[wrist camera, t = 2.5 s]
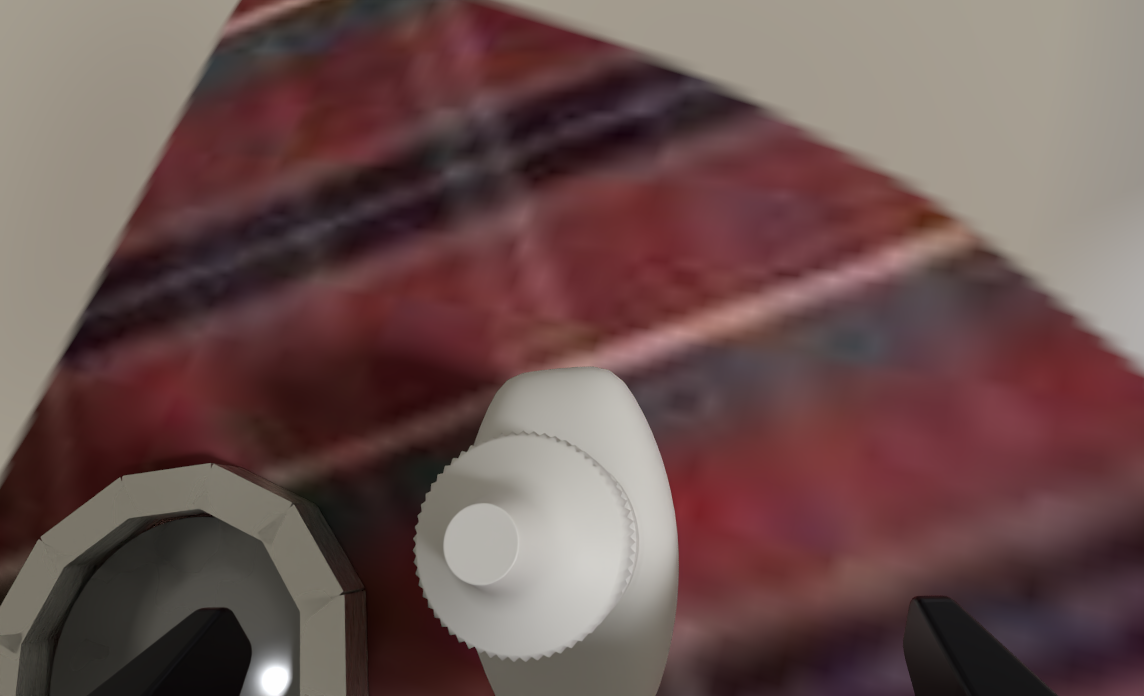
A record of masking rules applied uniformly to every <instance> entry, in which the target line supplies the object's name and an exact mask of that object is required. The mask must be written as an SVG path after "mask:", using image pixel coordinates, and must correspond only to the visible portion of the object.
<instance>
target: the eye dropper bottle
mask: <svg viewBox="0 0 1144 696" xmlns="http://www.w3.org/2000/svg"><path fill="white" fill-rule="evenodd" d="M421 509H422V512H421V513H420V514H418V515H417V517H418V520H419V523H418V524H417V525H416V526H415V529H416V532H417V534H416V535H415V537H414V538H413V539H414V541H415V543H416V546H415V547H414V549H413V552H414V553H415V555H416V558H415V560H414V564H415V565H416V566H417V571H416V575H417V576H418V577H419V578H420V581H419V586H420V587H421V588H423V597H424V598H426V599H428V608H431V609H434V617H435V618H440V621H441V626H442V627H448V630H449V634H450V635H454V634H456V636H457V639H458V641H459V642H463V641H465V642H466V644H467V646H468V648H469V649H470V648H472V647H474V646H475V648H476V649H477V652H478V655H479V657H480V660H481V662H482V665H483V668H484V671H485V673H486V676H487V678H488V680H489V682H490V685H491V687H492V689H493V691H494V694H495V695H496V696H655V695H656V693H657V690H658V688H659V685H660V682H661V679H662V675H663V672H664V669H665V665H666V662H667V657H668V653H669V649H670V644H671V640H672V634H673V628H674V622H675V615H676V606H677V596H678V576H679V556H678V537H677V527H676V519H675V512H674V506H673V501H672V496H671V491H670V487H669V483H668V479H667V475H666V471H665V468H664V465H663V461H662V458H661V455H660V452H659V449H658V447H657V444H656V441H655V439H654V436H653V434H652V431H651V429H650V427H649V425H648V423H647V420H646V418H645V416H644V414H643V412H642V410H641V409H640V407H639V405H638V403H637V401H636V399H635V398H634V396H633V395H632V393H631V392H630V390H629V389H628V387H627V386H626V384H625V383H624V382H623V381H622V380H621V379H619V378H618V377H617V376H616V375H615V374H613V373H612V372H611V371H610V370H606V369H602V368H597V367H571V368H559V369H549V370H540V371H534V372H527V373H522V374H520V375H518V376H515V377H513V378H511V379H508V380H507V381H506V382H505V383H504V385H503V386H502V387H501V388H500V389H499V390H498V391H497V392H496V394H495V396H494V398H493V400H492V402H491V404H490V405H489V407H488V409H487V412H486V414H485V417H484V419H483V421H482V424H481V426H480V429H479V432H478V434H477V437H476V440H475V443H474V446H473V445H471V446H470V447H469V449H468V451H467V452H464V451H461V453H460V456H459V458H453V459H452V462H451V465H448V466H445V467H444V472H443V473H442V474H438V475H437V482H435V483H432V484H431V491H430V492H428V493H426V501H425V502H424V503H422V504H421Z"/></svg>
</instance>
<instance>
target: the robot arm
mask: <svg viewBox="0 0 1144 696" xmlns="http://www.w3.org/2000/svg"><path fill="white" fill-rule="evenodd" d="M903 648H904V655H905V659H906V663H907V667H908V671H909V674H910V678H911V682H912V685H913V689H914V693H915V696H1058V695H1057V694H1056V693H1055V692H1054V691H1052V690H1051V689H1050V688H1049V687H1048V686H1047V685H1046V684H1045V683H1044V682H1043V681H1042V680H1040V679H1039V678H1038V677H1037V676H1036V675H1035V674H1034V673H1033V672H1032V671H1031V670H1030V669H1029V668H1027V667H1026V666H1025V665H1024V664H1023V663H1022V662H1021V661H1020V660H1019V659H1018V658H1017V657H1015V656H1014V655H1013V654H1012V653H1011V652H1010V651H1009V650H1008V649H1007V648H1006V647H1005V646H1004V645H1002V644H1001V643H1000V642H999V641H998V640H997V639H996V638H995V637H994V636H993V635H992V634H990V633H989V632H988V631H987V630H986V629H985V628H984V627H983V626H982V625H981V624H980V623H979V622H977V621H976V620H975V619H974V618H973V617H972V616H971V615H970V614H969V613H968V612H967V611H965V610H964V609H963V608H962V607H961V606H960V605H959V604H958V603H957V602H956V601H954V600H953V599H951V598H949V597H947V596H915V597H914V598H913V599H912V600H911V602H910V605H909V610H908V616H907V621H906V627H905V632H904V638H903ZM251 658H252V646H251V643H250V641H249V639H248V637H247V635H246V634H245V632H244V630H243V628H242V627H241V625H240V623H239V621H238V620H237V618H236V616H235V614H234V613H233V611H232V610H230V609H229V608H226V607H206V608H201V609H198V610H196V611H194V612H193V613H191V614H190V615H189V616H187V617H186V618H185V619H184V620H182V621H181V622H180V623H178V624H177V625H176V626H175V627H173V628H172V629H171V630H169V631H168V632H167V633H166V634H164V635H163V636H162V637H161V638H159V639H158V640H157V641H155V642H154V643H153V644H152V645H150V646H149V647H148V648H146V649H145V650H144V651H143V652H141V653H140V654H139V655H138V656H136V657H135V658H134V659H132V660H131V661H130V662H129V663H127V664H126V665H125V666H123V667H122V668H121V669H120V670H118V671H117V672H116V673H115V674H113V675H112V676H111V677H109V678H108V679H107V680H106V681H104V682H103V683H102V684H101V685H99V686H98V687H97V688H95V689H94V690H93V691H92V692H90V693H89V694H88V695H86V696H240V693H241V690H242V687H243V684H244V681H245V678H246V675H247V672H248V669H249V666H250V663H251Z"/></svg>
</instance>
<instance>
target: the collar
mask: <svg viewBox="0 0 1144 696" xmlns="http://www.w3.org/2000/svg"><path fill="white" fill-rule="evenodd" d="M315 505H316V504H314V503H312V502H310V501H308V500H306V499H304V498H302V497H300V496H298V495H296V494H294V493H292V492H290V491H288V490H286V489H284V488H282V487H280V486H277V485H275V484H273V483H271V482H269V481H267V480H265V479H263V478H261V477H259V476H257V475H255V474H253V473H251V472H249V471H247V470H245V469H243V468H241V467H235V466H228V465H221V464H214V463H207V464H201V465H194V466H187V467H180V468H173V469H166V470H159V471H153V472H146V473H139V474H132V475H125V476H123V477H119V478H118V479H117V480H115V481H114V482H113V483H111V484H110V485H109V486H108V487H106V488H105V489H104V490H102V491H101V492H100V493H98V494H97V495H96V496H94V497H93V498H92V499H90V500H89V501H88V502H86V503H85V504H84V505H82V506H81V507H80V508H78V509H77V510H76V511H74V512H73V513H72V514H70V515H69V516H68V517H66V518H65V519H64V520H62V521H61V522H60V523H58V524H57V525H56V526H54V527H53V528H52V529H50V530H49V531H48V532H46V533H45V534H44V535H42V536H41V539H38V541H37V543H36V545H35V546H34V548H33V550H32V552H31V553H30V555H29V557H28V559H27V560H26V562H25V564H24V566H23V567H22V569H21V571H20V573H19V574H18V576H17V578H16V580H15V581H14V583H13V585H12V587H11V588H10V590H9V592H8V594H7V596H6V597H5V599H4V601H3V603H2V604H1V606H0V696H86V695H88V694H89V693H90V692H92V691H93V690H94V689H95V688H97V687H98V686H99V685H101V684H102V683H103V682H104V681H106V680H107V679H108V678H109V677H111V676H112V675H113V674H115V673H116V672H117V671H118V670H120V669H121V668H122V667H123V666H125V665H126V664H127V663H129V662H130V661H131V660H132V659H134V658H135V657H136V656H138V655H139V654H140V653H141V652H143V651H144V650H145V649H146V648H148V647H149V646H150V645H152V644H153V643H154V642H155V641H157V640H158V639H159V638H161V637H162V636H163V635H164V634H166V633H167V632H168V631H169V630H171V629H172V628H173V627H175V626H176V625H177V624H178V623H180V622H181V621H182V620H184V619H185V618H186V617H187V616H189V615H190V614H191V613H193V612H194V611H196V610H198V609H201V608H206V607H226V608H229V609H230V610H232V611H233V613H234V614H235V616H236V618H237V620H238V621H239V623H240V625H241V627H242V628H243V630H244V632H245V634H246V635H247V637H248V639H249V641H250V643H251V646H252V658H251V663H250V666H249V669H248V672H247V675H246V678H245V681H244V684H243V687H242V690H241V693H240V696H368V657H367V618H366V591H361V590H363V589H364V588H365V587H364V585H363V584H362V582H361V580H360V579H359V577H358V575H357V573H356V572H355V570H354V568H353V566H352V565H351V563H350V561H349V559H348V558H347V556H346V554H345V553H344V551H343V549H342V547H341V546H340V544H339V542H338V540H337V539H336V537H335V535H334V534H333V532H332V530H331V528H330V527H329V525H328V523H327V521H326V520H325V518H324V516H323V515H322V513H321V511H320V509H319V508H318V506H315ZM202 513H209V514H211V515H213V516H215V517H216V518H215V517H193V518H184V519H179V520H174V521H170V522H167V523H164V524H162V525H159V526H156V527H154V528H152V529H150V530H148V531H146V530H147V529H149V528H150V527H151V526H153V525H154V524H155V523H157V522H158V521H159V520H161V519H166V518H173V517H180V516H188V515H195V514H202ZM145 531H146V532H145ZM143 532H144V533H143ZM106 560H107V561H106ZM105 561H106V562H105ZM104 562H105V563H104ZM103 563H104V564H103ZM101 564H103V565H102V566H101V567H100V565H101ZM99 567H100V568H99Z"/></svg>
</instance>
